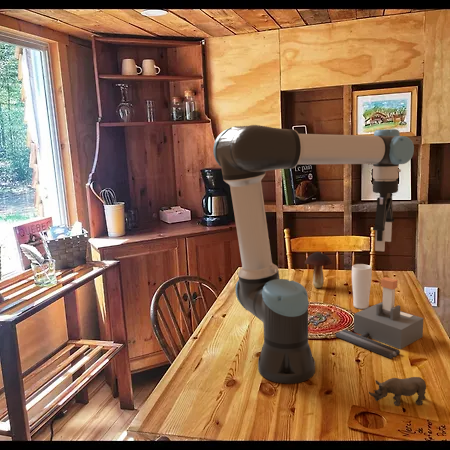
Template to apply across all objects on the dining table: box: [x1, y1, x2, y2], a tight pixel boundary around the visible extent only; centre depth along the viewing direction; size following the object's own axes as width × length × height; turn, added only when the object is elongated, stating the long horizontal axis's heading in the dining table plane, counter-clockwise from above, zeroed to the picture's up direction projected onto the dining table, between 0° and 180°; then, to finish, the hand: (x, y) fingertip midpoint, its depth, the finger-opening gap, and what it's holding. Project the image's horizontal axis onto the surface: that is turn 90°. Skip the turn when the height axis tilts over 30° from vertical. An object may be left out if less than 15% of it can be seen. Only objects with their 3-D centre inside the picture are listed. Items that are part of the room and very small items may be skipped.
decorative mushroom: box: [304, 251, 333, 289], centre depth 180 cm, size 11×11×15 cm
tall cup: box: [351, 263, 373, 310], centre depth 158 cm, size 7×7×15 cm
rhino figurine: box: [368, 376, 427, 407], centre depth 102 cm, size 4×14×6 cm, turn 92°
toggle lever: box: [380, 276, 398, 315], centre depth 135 cm, size 2×4×11 cm, turn 37°
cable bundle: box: [335, 329, 401, 359], centre depth 131 cm, size 8×19×1 cm, turn 38°
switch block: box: [353, 301, 424, 350], centre depth 136 cm, size 12×16×10 cm
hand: (383, 245), depth 143 cm, fingers open, 13 cm apart
